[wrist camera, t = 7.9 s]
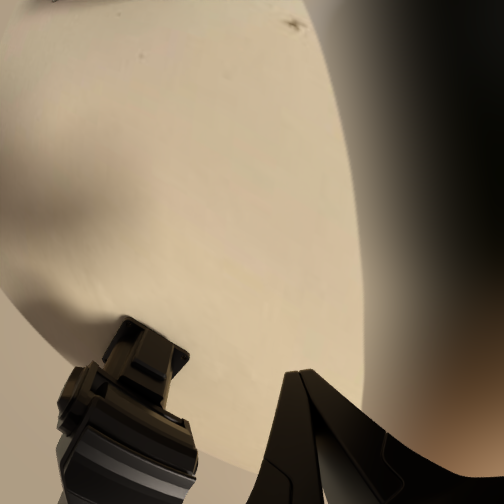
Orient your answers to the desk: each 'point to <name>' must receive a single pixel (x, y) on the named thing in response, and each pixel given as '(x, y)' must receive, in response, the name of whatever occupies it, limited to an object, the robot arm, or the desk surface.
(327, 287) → the desk surface
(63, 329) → the desk surface
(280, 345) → the desk surface
